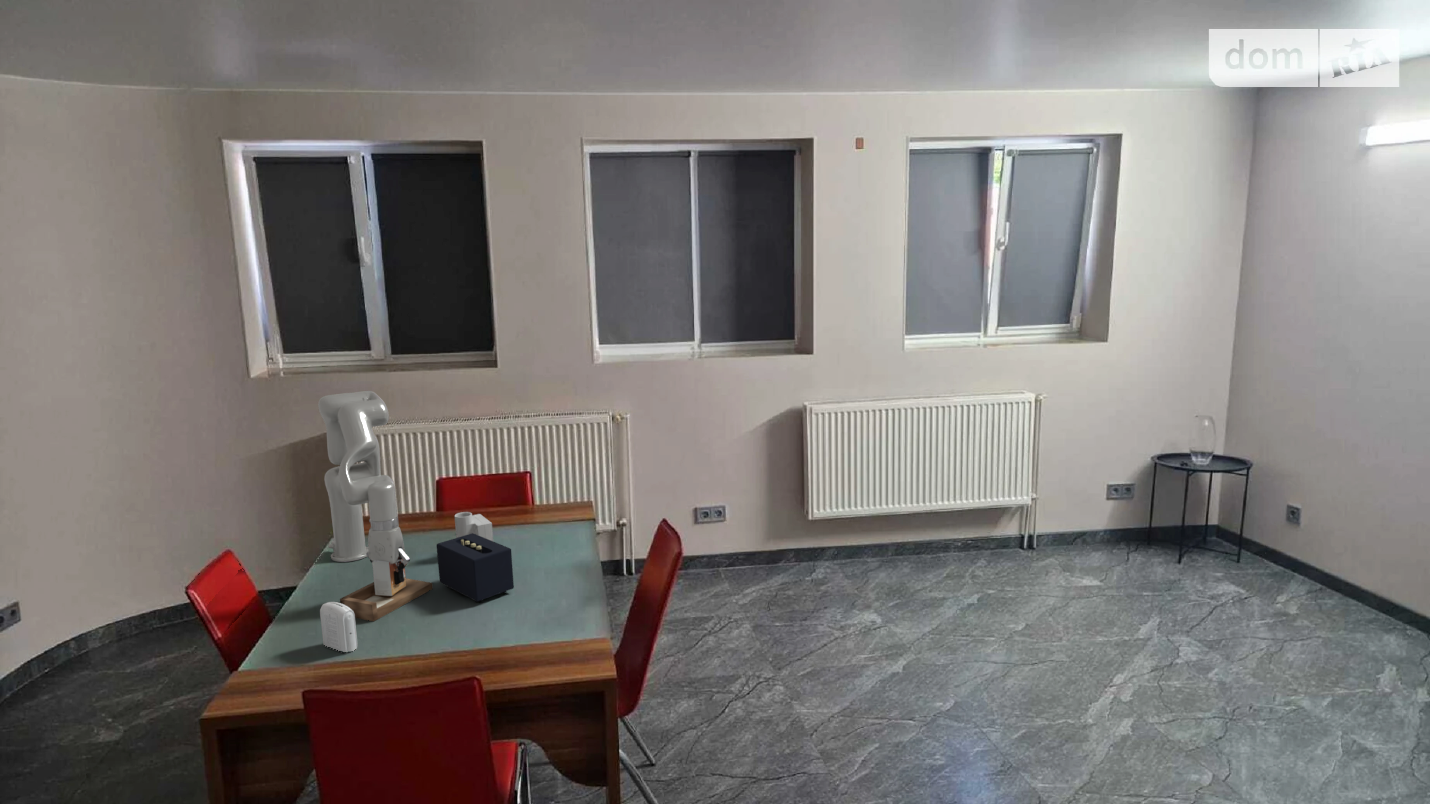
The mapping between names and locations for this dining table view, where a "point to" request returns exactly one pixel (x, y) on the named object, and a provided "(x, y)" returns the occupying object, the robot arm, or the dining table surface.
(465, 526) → the white desk organizer
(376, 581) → the small box
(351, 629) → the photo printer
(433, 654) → the dining table surface
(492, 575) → the speaker
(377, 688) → the dining table surface
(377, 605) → the wooden tray
